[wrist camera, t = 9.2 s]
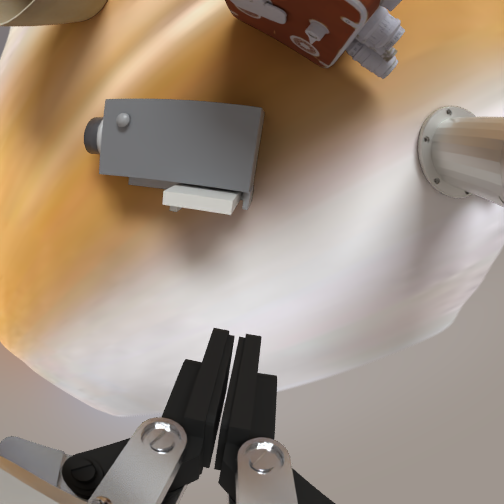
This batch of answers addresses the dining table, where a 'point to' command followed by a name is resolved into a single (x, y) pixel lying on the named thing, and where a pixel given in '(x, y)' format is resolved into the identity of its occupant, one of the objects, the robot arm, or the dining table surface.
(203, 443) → the robot arm
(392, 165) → the dining table surface
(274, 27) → the dark red boxy piece
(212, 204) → the off-white foam block
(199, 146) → the housing
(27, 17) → the plant pot
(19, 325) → the dining table surface
